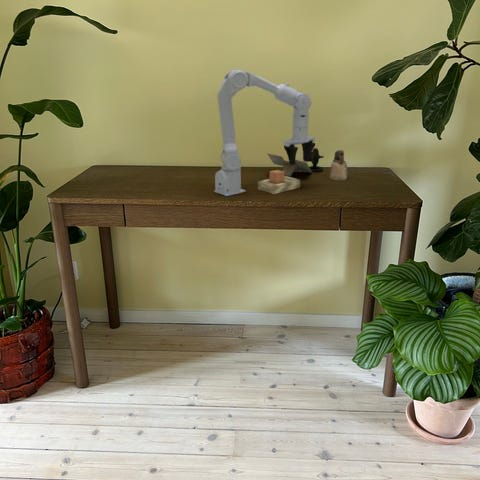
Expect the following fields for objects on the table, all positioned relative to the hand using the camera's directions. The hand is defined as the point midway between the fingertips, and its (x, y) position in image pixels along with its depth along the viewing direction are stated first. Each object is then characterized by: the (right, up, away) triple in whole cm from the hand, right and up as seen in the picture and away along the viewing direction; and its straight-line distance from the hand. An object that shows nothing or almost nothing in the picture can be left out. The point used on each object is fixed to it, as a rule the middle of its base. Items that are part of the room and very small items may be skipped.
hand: (299, 162), depth 186 cm
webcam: (+10, +1, +30) cm, 32 cm away
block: (-8, -10, +2) cm, 13 cm away
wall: (-2, -2, +23) cm, 23 cm away
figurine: (+18, -4, +17) cm, 25 cm away
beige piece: (-7, -9, +3) cm, 12 cm away
